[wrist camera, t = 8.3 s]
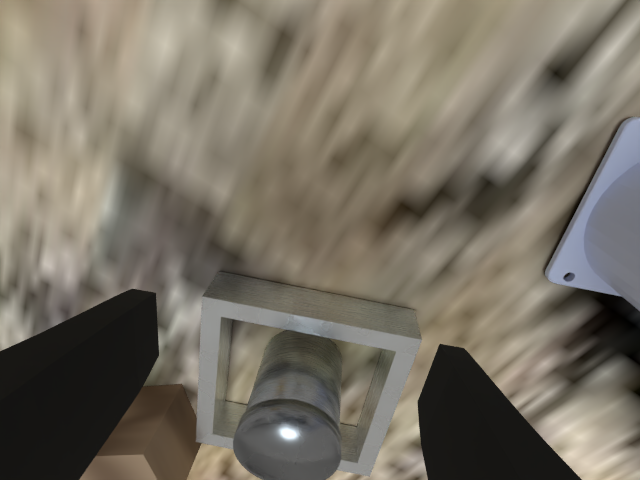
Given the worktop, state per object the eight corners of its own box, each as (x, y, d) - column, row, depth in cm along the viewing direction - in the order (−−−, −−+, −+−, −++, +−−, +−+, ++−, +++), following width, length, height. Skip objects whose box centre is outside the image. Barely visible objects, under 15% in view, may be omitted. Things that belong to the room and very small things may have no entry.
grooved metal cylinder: (342, 393, 23) (338, 491, 18) (263, 386, 24) (236, 480, 18) (347, 329, 21) (344, 419, 16) (260, 323, 22) (228, 408, 16)
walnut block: (182, 383, 24) (143, 454, 20) (204, 434, 26) (174, 510, 22) (115, 387, 25) (62, 457, 20) (141, 437, 27) (99, 510, 22)
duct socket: (414, 309, 20) (421, 339, 18) (366, 445, 25) (367, 482, 23) (219, 271, 20) (202, 296, 18) (209, 414, 25) (195, 448, 23)
